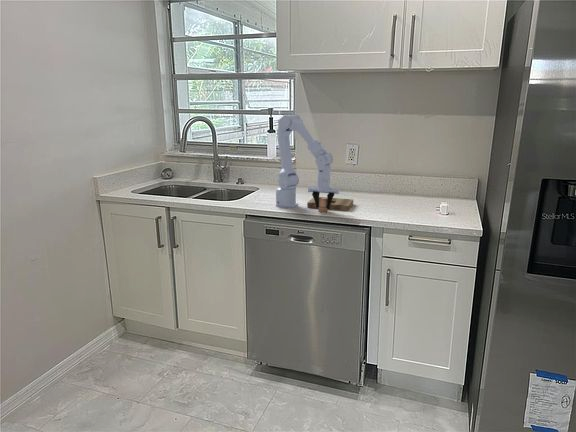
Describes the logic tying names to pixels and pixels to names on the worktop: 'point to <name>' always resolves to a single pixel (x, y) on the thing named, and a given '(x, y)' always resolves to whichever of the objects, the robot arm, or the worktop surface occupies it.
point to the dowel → (323, 204)
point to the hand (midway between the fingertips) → (323, 207)
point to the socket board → (334, 204)
